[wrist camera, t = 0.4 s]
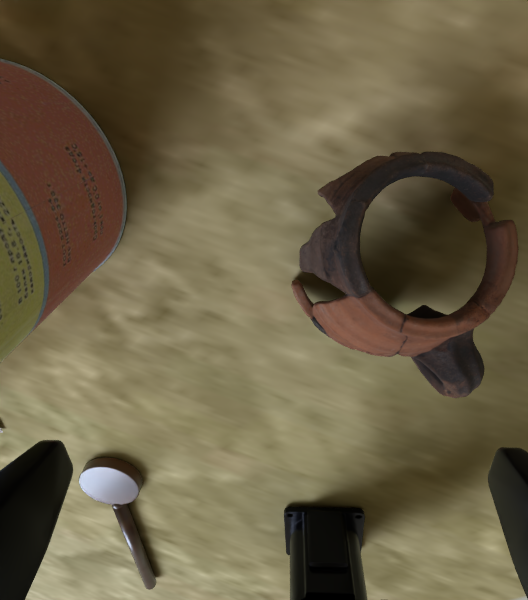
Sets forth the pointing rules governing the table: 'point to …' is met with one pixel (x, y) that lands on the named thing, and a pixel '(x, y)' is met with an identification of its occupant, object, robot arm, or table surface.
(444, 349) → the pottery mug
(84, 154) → the canned food
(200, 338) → the table surface
